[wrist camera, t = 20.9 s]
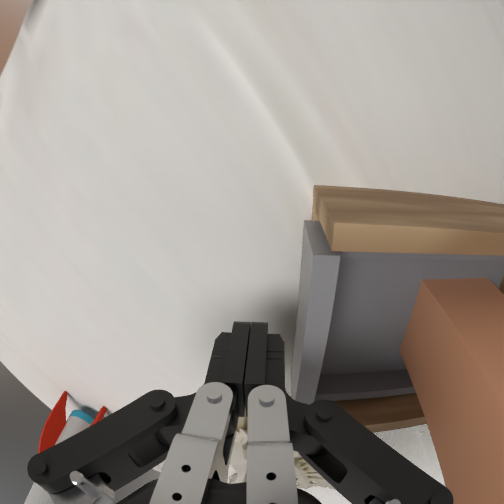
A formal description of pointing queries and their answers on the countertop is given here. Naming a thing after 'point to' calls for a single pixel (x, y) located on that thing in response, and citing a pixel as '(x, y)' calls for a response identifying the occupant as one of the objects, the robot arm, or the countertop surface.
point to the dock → (404, 241)
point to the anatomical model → (239, 461)
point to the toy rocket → (60, 438)
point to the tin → (461, 381)
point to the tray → (363, 316)
